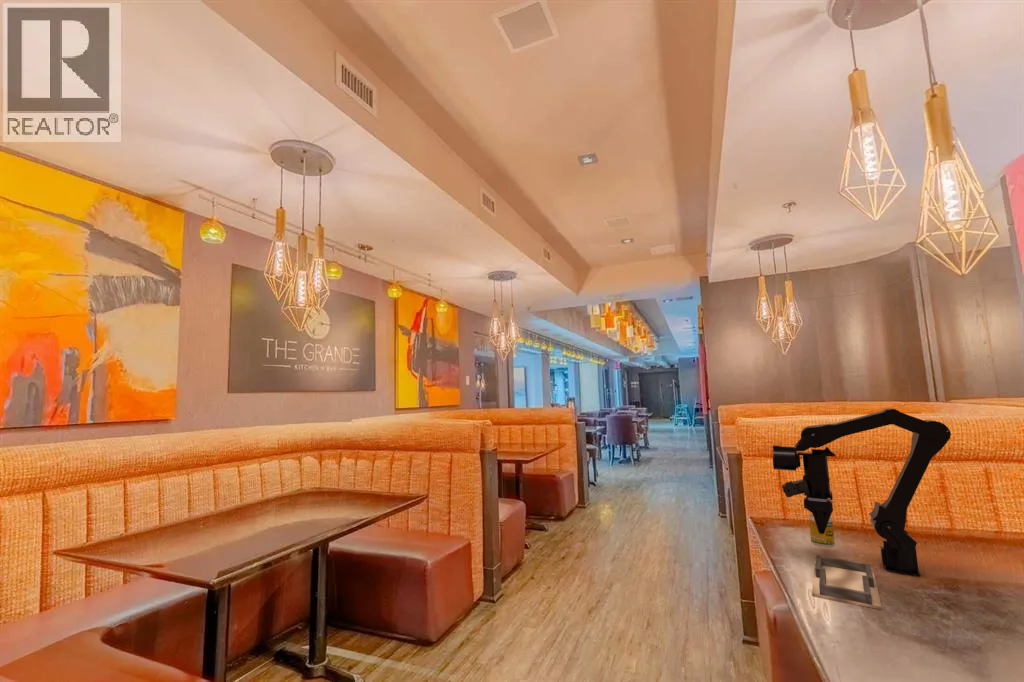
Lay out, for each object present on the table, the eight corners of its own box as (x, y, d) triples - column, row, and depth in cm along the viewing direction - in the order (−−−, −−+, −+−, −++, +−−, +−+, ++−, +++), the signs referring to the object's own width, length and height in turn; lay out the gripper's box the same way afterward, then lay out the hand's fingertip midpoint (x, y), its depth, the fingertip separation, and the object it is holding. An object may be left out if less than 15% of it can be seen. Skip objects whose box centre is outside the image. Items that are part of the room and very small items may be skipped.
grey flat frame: (873, 575, 111) (872, 564, 111) (881, 609, 93) (880, 596, 93) (815, 565, 118) (814, 554, 118) (812, 595, 100) (811, 583, 100)
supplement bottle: (816, 540, 126) (813, 504, 128) (838, 545, 122) (835, 508, 123) (807, 543, 123) (804, 507, 125) (829, 549, 119) (826, 511, 120)
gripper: (785, 465, 137) (789, 519, 135) (779, 474, 122) (784, 534, 120) (829, 468, 131) (835, 524, 129) (829, 478, 116) (835, 541, 114)
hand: (821, 530), depth 123 cm, fingers closed on supplement bottle, 5 cm apart
